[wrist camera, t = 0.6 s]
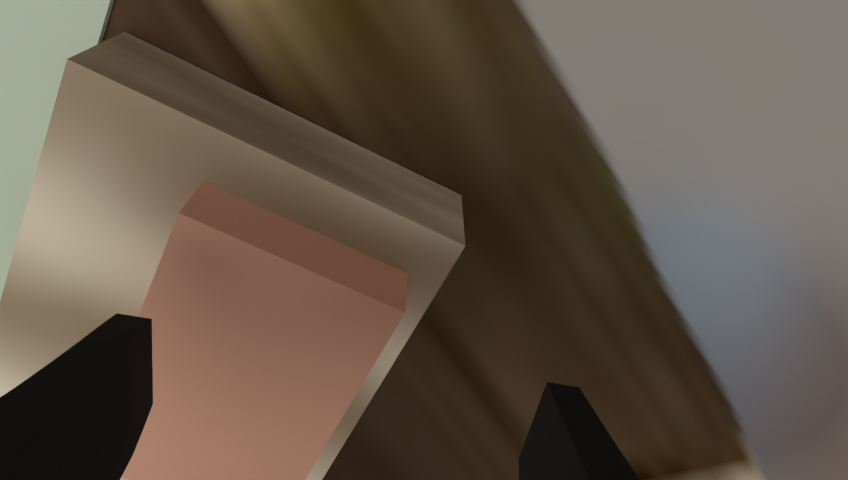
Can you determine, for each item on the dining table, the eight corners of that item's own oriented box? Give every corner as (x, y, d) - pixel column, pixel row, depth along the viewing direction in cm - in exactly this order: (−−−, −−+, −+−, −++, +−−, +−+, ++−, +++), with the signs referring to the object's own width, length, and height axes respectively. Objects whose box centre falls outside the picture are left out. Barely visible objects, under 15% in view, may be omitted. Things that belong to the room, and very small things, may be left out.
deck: (275, 511, 29) (255, 588, 26) (6, 414, 27) (-51, 484, 24) (461, 195, 22) (465, 246, 19) (124, 31, 20) (67, 58, 17)
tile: (286, 481, 23) (274, 531, 21) (109, 416, 22) (81, 462, 20) (408, 273, 20) (405, 312, 18) (203, 180, 18) (178, 212, 17)
